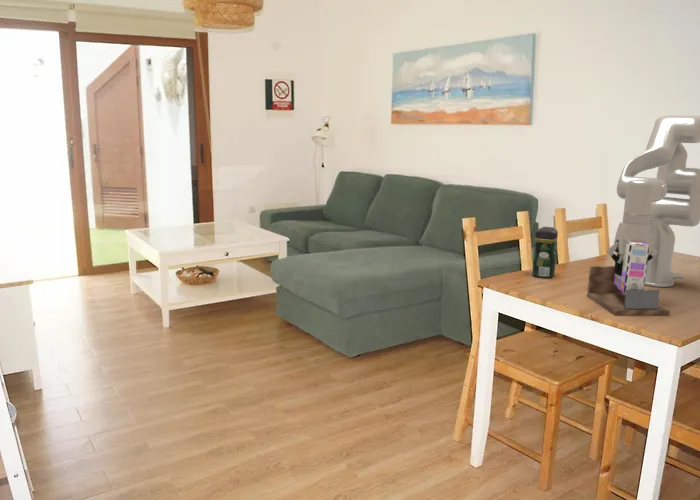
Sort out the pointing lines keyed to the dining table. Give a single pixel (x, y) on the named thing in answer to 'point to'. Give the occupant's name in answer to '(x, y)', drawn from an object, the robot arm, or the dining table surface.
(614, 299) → the wooden shelf
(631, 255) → the candy box
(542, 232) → the coffee jar
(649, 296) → the grey flat slab
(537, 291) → the dining table surface
